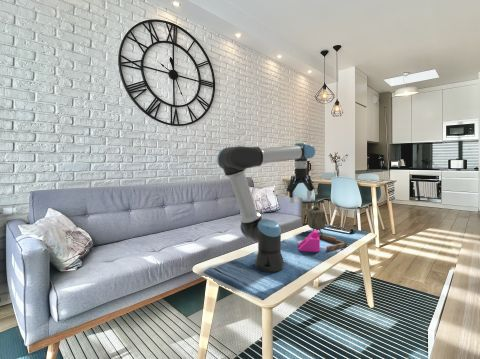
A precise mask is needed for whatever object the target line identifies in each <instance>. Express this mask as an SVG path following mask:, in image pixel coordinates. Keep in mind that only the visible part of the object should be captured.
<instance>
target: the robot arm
mask: <svg viewBox="0 0 480 359" xmlns="http://www.w3.org/2000/svg"><path fill="white" fill-rule="evenodd" d="M315 155H316V148H315V147H314V145H312V144H307V143H305V142H299V143H298V142H297V143H295V144H294V145H282V146H276V147H275V146H274V147H265V148H263V147H262V148H261V147H260V146H244V145H243V146H241V145H238V146H227V147H225V148H222V149H221V150H220V151H219V153H218V155H217V158H216V161H217V165H218V167H220V168H221V169H222V170H223V173H224V175H225V176H226V177H228V178H229V180H230V181H229V182H230V184H231V187H232V190H233V193H234V196H235V199H236V201H237V205H238V207H239V211H240V213H241V218H240V225H239V226H240V227H239V228H240V231H241V233H242V235H244V236H245V237H246V238H248V239H250V240H251V241H254V242H256V243H257V248H258V249H257V250H258V251H257V254H256V258H255V261H254V267H255V269H257V270H259V271H262V272H265V273H276V272H280V271H282V270H283V269H284V268H285V261H284V258H283V255H282V251H281V250H282V249H281V248H282V247H281V246H282V244H281V243H282V241H281V238H282V235H281V234H282V231H281V224H280V223H279V222H278V221H275V220H274V219H268V218H265V219H263V218H262V215H261V213H260V212H258V211H257V207H256V205H255V202H254V199H253V195H252V192H251V190H250V189H251V188H250V186H249V183H248V179H247V176H246V174H245V172H246V171H247V169H250V168H256V167H260V166H262V165H263V164H270V163H278V162H287V161H294V176H293V175H291V176H290V181H289V183H288V186H287V188H286V192H288V193H289V200H290V201H289V202H290V203H291V204H294V203H295V192H294V191H295V189H296V187H297V186H298V185H299V184H303V185H304V186H305V188H306V189H307V190H306V201H307V202H312V201H311V198H312V192H313V190H315V187H314V184H313V182H312V178H311V175H308V169H307V168H308V159H312V158H314V157H315Z"/></svg>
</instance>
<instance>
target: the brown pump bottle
mask: <svg viewBox="0 0 480 359" xmlns="http://www.w3.org/2000/svg"><path fill="white" fill-rule="evenodd" d="M316 202H317V203H316ZM314 204H315V205H314V206H313V207H312V208H309V209H307V226H308V227H309V228H311V229H312V231H313V230H318V232H319V233H320V234H323V233H324V232H322V231H321V230H325V228H326V213H325V212H326V211H325V210H323V209H322V208H320V206H319V201H318V199H315V200H314ZM323 235H324V234H323Z"/></svg>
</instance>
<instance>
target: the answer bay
mask: <svg viewBox="0 0 480 359" xmlns="http://www.w3.org/2000/svg"><path fill="white" fill-rule="evenodd" d="M307 237H308V236H305V237H303V240H304V239H306V238H307ZM319 239H320V240H321V239H322V240H325V241H328V242H330V243H334V244H333V245H327V246H326V252H332V251H335V250H339V249H343V248H346V247H348V243H347V242H346V241H343V240H340V239H338V238H337V237H334V236H331V235H325V234H321V233H319Z"/></svg>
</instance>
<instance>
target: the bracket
mask: <svg viewBox="0 0 480 359" xmlns="http://www.w3.org/2000/svg"><path fill="white" fill-rule="evenodd" d="M319 234H320V231H319V230H316V229H314V230H313V229H312V231H311V232H310V233H308V235H307V236H306V237H307V238H306V239H304V238H303V240H302V241H299V243H298V251H299V252H312V253H313V252H315V253H316V252H320V250H321V248H320V246H321V245H320V243H321V242H320V241H321V238H320V239H319Z"/></svg>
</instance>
